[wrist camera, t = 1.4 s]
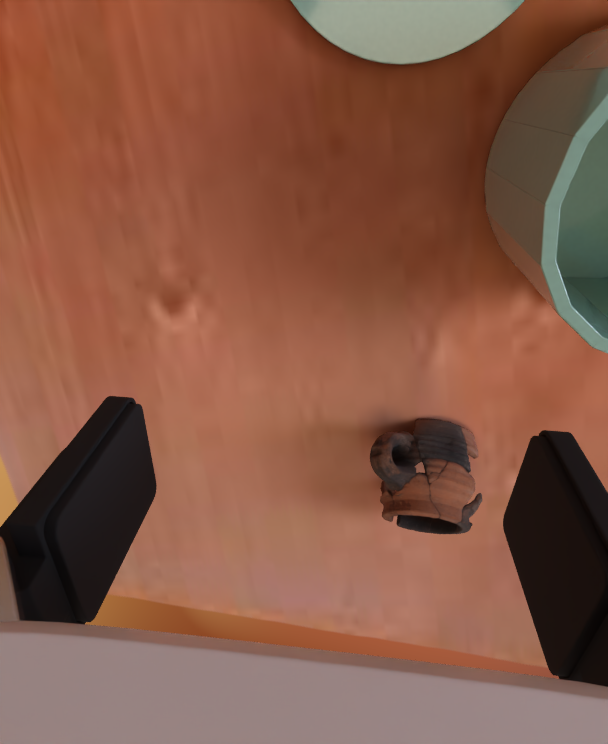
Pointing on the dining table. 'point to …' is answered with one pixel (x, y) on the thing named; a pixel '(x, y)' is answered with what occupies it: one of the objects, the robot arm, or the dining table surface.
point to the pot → (558, 184)
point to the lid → (404, 26)
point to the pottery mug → (427, 477)
